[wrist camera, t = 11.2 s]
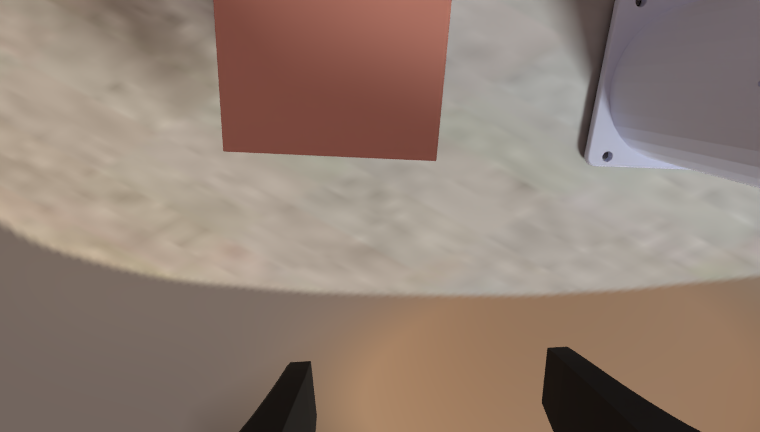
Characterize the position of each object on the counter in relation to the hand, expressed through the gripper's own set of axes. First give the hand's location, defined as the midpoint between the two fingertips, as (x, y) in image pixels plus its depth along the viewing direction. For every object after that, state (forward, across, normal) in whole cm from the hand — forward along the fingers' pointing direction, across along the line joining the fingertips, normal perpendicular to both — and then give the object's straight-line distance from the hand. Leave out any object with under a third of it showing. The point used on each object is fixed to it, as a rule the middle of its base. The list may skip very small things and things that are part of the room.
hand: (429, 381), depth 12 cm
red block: (+3, +2, -10) cm, 10 cm away
